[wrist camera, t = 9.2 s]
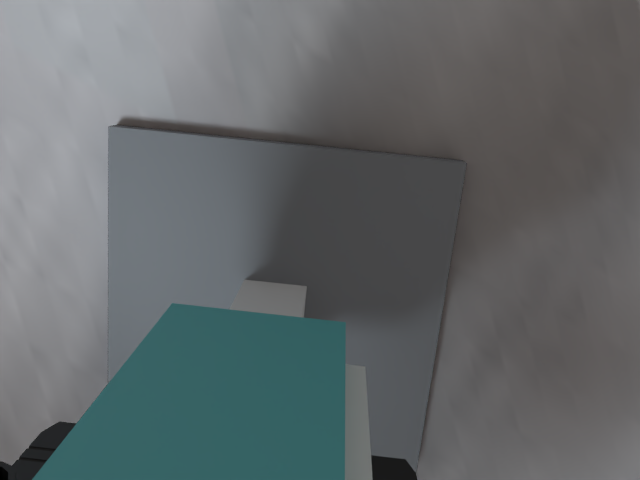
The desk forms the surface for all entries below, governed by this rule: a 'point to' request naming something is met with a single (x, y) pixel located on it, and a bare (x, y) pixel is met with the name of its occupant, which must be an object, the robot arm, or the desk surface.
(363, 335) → the stand
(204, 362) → the teal rectangular block
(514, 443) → the desk surface
